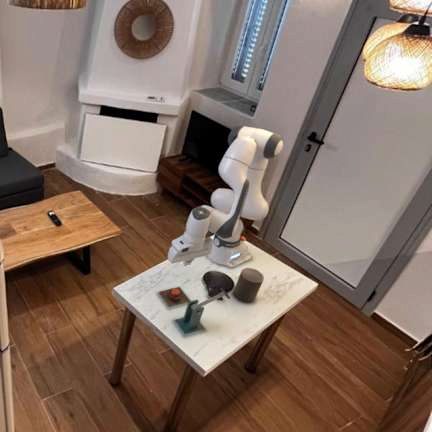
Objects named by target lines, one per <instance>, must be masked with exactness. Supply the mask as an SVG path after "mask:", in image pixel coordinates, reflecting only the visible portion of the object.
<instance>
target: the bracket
mask: <svg viewBox="0 0 432 432" xmlns="http://www.w3.org/2000/svg"><path fill="white" fill-rule="evenodd" d="M195 303H197V304H199V299H193V300H190V301H189V302H187V304H186V308H185V311H184V315H183V317H181V318H177V319H174V321H175V323H176V324H177V326H178V327H179V329H180V330H181V331H182V333H183V334H184V335H188V334H192V333H196V332H199V331H202V330H203V331H204V330H205V329H206V328H205V327H204V326H203V323H201V319H202V316H203V313H204V310H205V307H204V306H202V307H199V308H195V309H194V310H193V311H192V309H191V305H193V304H195Z"/></svg>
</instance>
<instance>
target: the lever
mask: <svg viewBox="0 0 432 432" xmlns="http://www.w3.org/2000/svg"><path fill="white" fill-rule="evenodd" d="M219 291H221V292H219V294H218V295H216V296H214V297H212V298H211V297H210V298H208V299H206V300H204V301H202V302H200V303H198V304H197V303H195V304H193V305H191V309H192V311H193V310H194V309H195V308H199V307H204V306H207V305H209V304H210V303H212V302H214V301H217V299H218V298H220V297H222V298H223V297H224V296H225V298H226V299H228V300H229V299H231V296H230V295H229V294H228V292H226V290H225V289H224V288H223V287H221V288H219Z"/></svg>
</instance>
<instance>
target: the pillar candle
mask: <svg viewBox="0 0 432 432" xmlns="http://www.w3.org/2000/svg"><path fill="white" fill-rule="evenodd" d="M264 280H265V276H264V274H263V272H260V271H259V270H258V269H255V268H253V267H245V268H242V270H241V272H240V274H239V276H238V279H237V281H236V283H235V286H234V288H233V290H232V294H233V296H234V298H235V299H236V300H237V301H239V302H241V303H243V304H252V303H254V301H255V300H256V297H257V296H258V293H259V291H260V289H261V287H262V284H263V282H264Z"/></svg>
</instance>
